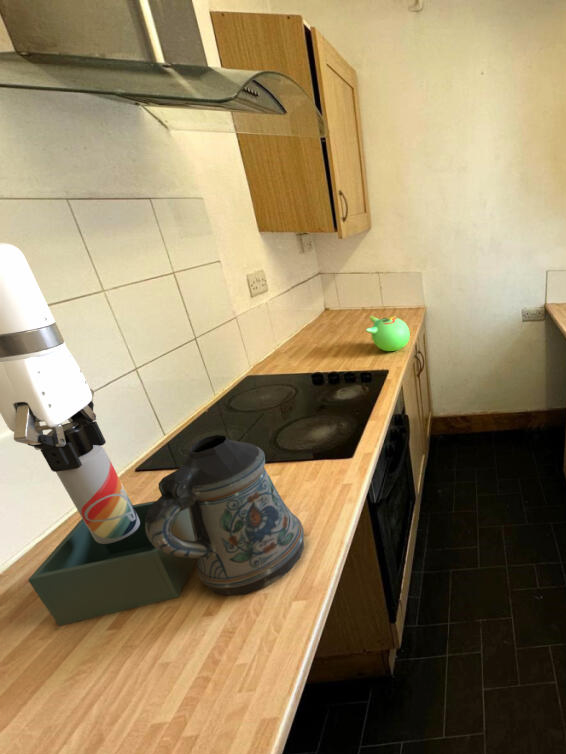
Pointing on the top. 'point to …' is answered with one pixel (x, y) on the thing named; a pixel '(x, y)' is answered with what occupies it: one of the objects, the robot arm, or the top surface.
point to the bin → (111, 572)
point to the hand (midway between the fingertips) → (80, 456)
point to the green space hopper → (389, 333)
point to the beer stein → (227, 518)
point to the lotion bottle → (97, 489)
